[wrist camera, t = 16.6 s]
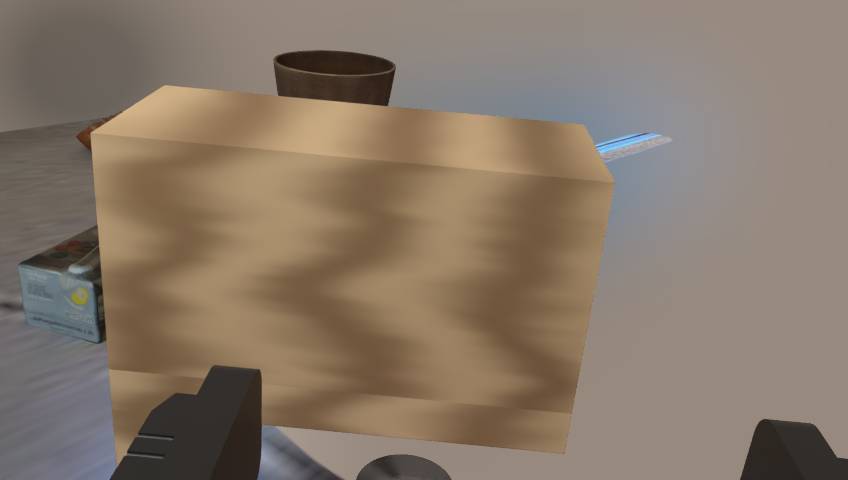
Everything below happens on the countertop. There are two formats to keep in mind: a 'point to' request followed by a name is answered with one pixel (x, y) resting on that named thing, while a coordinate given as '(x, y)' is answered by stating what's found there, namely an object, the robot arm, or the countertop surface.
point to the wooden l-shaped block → (350, 263)
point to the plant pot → (334, 76)
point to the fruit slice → (85, 134)
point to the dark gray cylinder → (402, 469)
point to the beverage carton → (66, 288)
